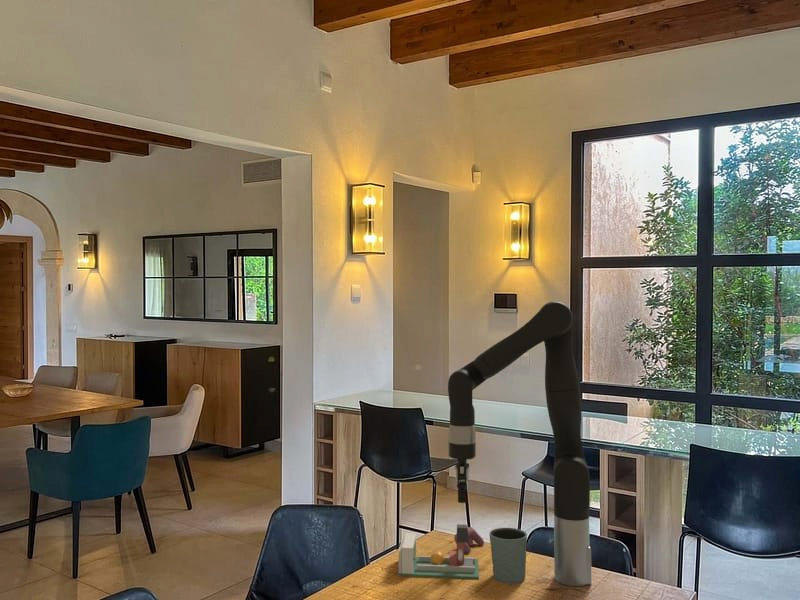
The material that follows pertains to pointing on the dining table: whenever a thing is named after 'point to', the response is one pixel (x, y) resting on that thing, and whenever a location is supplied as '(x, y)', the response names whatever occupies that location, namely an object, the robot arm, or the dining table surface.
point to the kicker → (460, 548)
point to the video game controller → (471, 539)
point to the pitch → (443, 569)
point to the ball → (437, 558)
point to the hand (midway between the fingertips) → (462, 498)
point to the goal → (407, 553)
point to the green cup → (508, 555)
